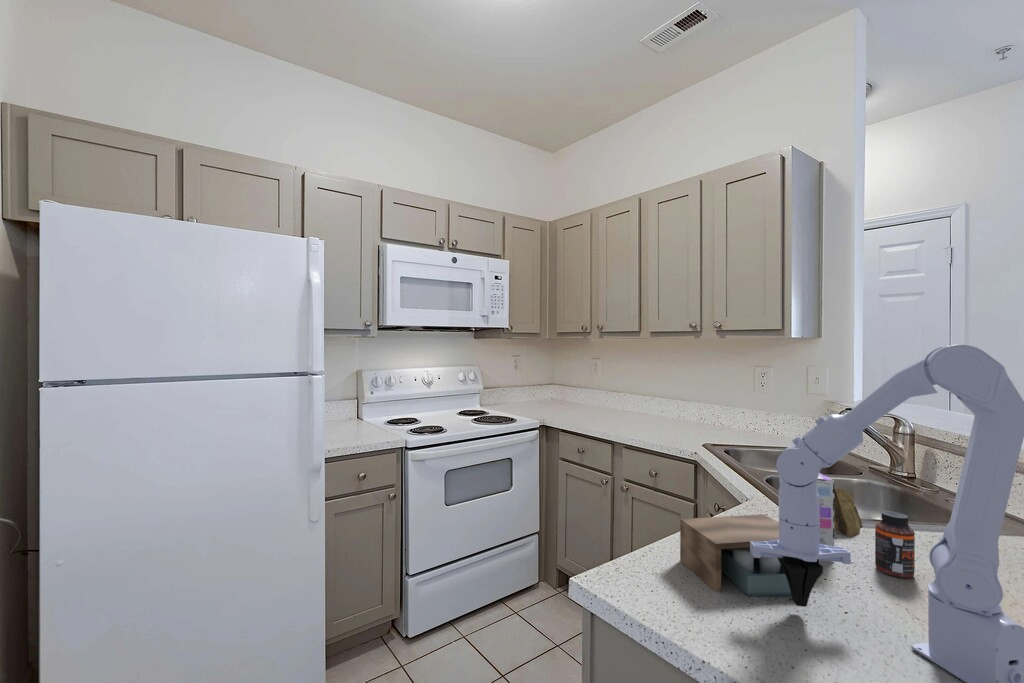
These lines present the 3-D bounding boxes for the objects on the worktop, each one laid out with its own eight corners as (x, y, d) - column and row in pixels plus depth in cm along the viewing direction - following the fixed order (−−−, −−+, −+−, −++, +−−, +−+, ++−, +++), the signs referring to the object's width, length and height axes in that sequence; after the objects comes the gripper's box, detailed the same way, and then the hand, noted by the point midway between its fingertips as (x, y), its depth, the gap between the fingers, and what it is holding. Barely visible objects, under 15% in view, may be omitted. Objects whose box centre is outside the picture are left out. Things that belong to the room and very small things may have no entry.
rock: (846, 509, 118) (812, 505, 117) (867, 489, 113) (832, 485, 112) (874, 549, 109) (837, 545, 108) (898, 529, 105) (860, 525, 103)
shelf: (809, 583, 84) (809, 537, 85) (716, 591, 81) (716, 543, 81) (763, 554, 96) (763, 514, 96) (680, 560, 93) (680, 519, 93)
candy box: (836, 559, 95) (835, 479, 95) (804, 556, 96) (804, 478, 96) (807, 533, 108) (807, 463, 108) (779, 531, 109) (779, 462, 110)
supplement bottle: (908, 582, 85) (908, 522, 85) (870, 569, 90) (870, 512, 90) (919, 574, 88) (919, 515, 89) (881, 562, 93) (881, 506, 94)
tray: (809, 596, 80) (809, 567, 80) (747, 596, 80) (747, 566, 80) (769, 564, 92) (769, 538, 92) (715, 563, 92) (715, 538, 92)
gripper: (761, 526, 72) (761, 612, 72) (862, 532, 70) (862, 621, 70) (745, 510, 79) (745, 589, 79) (836, 515, 77) (837, 597, 77)
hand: (799, 603), depth 75 cm, fingers closed
